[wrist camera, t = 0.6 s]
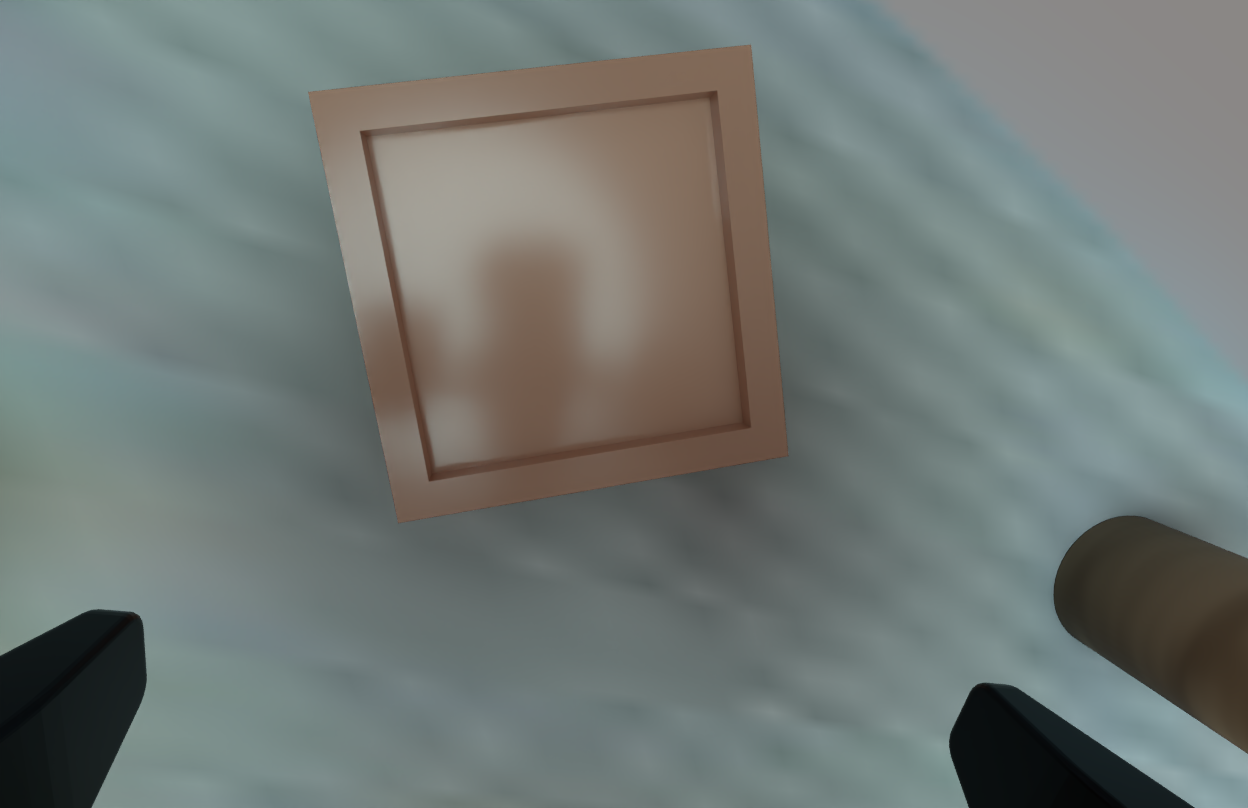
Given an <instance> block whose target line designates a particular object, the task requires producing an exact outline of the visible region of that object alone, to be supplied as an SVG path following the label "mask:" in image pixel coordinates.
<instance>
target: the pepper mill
mask: <svg viewBox="0 0 1248 808" xmlns="http://www.w3.org/2000/svg"><path fill="white" fill-rule="evenodd" d="M1054 603H1055V608H1056V612H1057V615H1058V618H1059V620H1060V622H1061V623H1062V625H1063V627H1064V628H1065V629H1066V630H1067V632H1068V633H1069V634H1071V635H1072V636H1073V637H1074V638H1076V639H1077V640H1079V641H1080V642H1082V643H1083V644H1085V645H1086V646H1088V647H1089V648H1091V649H1092V650H1094V651H1095V652H1097V653H1098V654H1100V655H1101V656H1103V657H1104V658H1106V659H1107V660H1109V661H1110V662H1111V663H1113V664H1114V665H1116V666H1117V667H1119V668H1120V669H1122V670H1123V671H1125V672H1126V673H1128V674H1129V675H1131V676H1132V677H1134V678H1135V679H1137V680H1138V681H1140V682H1141V683H1143V684H1144V685H1146V686H1147V687H1149V688H1150V689H1152V690H1153V691H1155V692H1156V693H1158V694H1159V695H1161V696H1162V697H1164V698H1165V699H1167V700H1168V701H1170V702H1171V703H1173V704H1174V705H1176V706H1177V707H1179V708H1180V709H1182V710H1183V711H1185V712H1186V713H1188V714H1189V715H1191V716H1192V717H1194V718H1195V719H1197V720H1198V721H1200V722H1201V723H1203V724H1204V725H1206V726H1207V727H1209V728H1210V729H1212V730H1213V731H1215V732H1216V733H1218V734H1219V735H1221V736H1222V737H1224V738H1225V739H1227V740H1228V741H1230V742H1231V743H1233V744H1234V745H1236V746H1237V747H1239V748H1240V749H1242V750H1243V751H1245V752H1246V753H1247V754H1248V559H1247V558H1245V557H1242V556H1240V555H1237V554H1235V553H1232V552H1230V551H1227V550H1225V549H1222V548H1220V547H1217V546H1215V545H1212V544H1210V543H1207V542H1205V541H1202V540H1200V539H1197V538H1195V537H1192V536H1190V535H1187V534H1185V533H1182V532H1180V531H1177V530H1175V529H1173V528H1170V527H1168V526H1165V525H1163V524H1160V523H1158V522H1155V521H1153V520H1150V519H1147V518H1144V517H1138V516H1122V517H1116V518H1112V519H1109V520H1106V521H1104V522H1101V523H1100V524H1098V525H1096V526H1094V527H1092V528H1091V529H1090V530H1088V531H1087V532H1085V533H1084V534H1083V535H1082V536H1081V537H1080V538H1079V539H1078V540H1077V541H1076V542H1075V543H1074V544H1073V545H1072V547H1071V548H1070V549H1069V551H1068V552H1067V554H1066V555H1065V557H1064V559H1063V561H1062V563H1061V565H1060V567H1059V570H1058V573H1057V576H1056V580H1055V586H1054Z"/></svg>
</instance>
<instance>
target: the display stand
mask: <svg viewBox="0 0 1248 808" xmlns="http://www.w3.org/2000/svg"><path fill="white" fill-rule="evenodd" d="M308 94H309V98H310V103H311V108H312V113H313V117H314V122H315V127H316V132H317V137H318V141H319V146H320V151H321V156H322V161H323V165H324V170H325V175H326V180H327V184H328V189H329V194H330V199H331V204H332V208H333V213H334V218H335V223H336V227H337V232H338V237H339V242H340V247H341V251H342V256H343V261H344V266H345V271H346V275H347V280H348V285H349V290H350V294H351V299H352V304H353V309H354V314H355V318H356V323H357V328H358V333H359V338H360V342H361V347H362V352H363V357H364V361H365V366H366V371H367V376H368V381H369V385H370V390H371V395H372V400H373V405H374V409H375V414H376V419H377V424H378V428H379V433H380V438H381V443H382V448H383V452H384V457H385V462H386V467H387V472H388V476H389V481H390V486H391V491H392V495H393V500H394V505H395V510H396V515H397V519H398V523H402V522H408V521H414V520H420V519H426V518H431V517H437V516H443V515H449V514H455V513H460V512H466V511H472V510H478V509H484V508H489V507H495V506H501V505H507V504H513V503H518V502H524V501H530V500H536V499H542V498H548V497H553V496H559V495H565V494H571V493H577V492H582V491H588V490H594V489H600V488H606V487H611V486H617V485H623V484H629V483H635V482H641V481H646V480H652V479H658V478H664V477H670V476H675V475H681V474H687V473H693V472H699V471H704V470H710V469H716V468H722V467H728V466H734V465H739V464H745V463H751V462H757V461H763V460H768V459H774V458H780V457H786V456H788V446H787V435H786V424H785V413H784V402H783V391H782V380H781V369H780V358H779V347H778V336H777V325H776V314H775V303H774V292H773V281H772V270H771V259H770V248H769V237H768V226H767V215H766V204H765V193H764V182H763V171H762V160H761V149H760V138H759V127H758V116H757V105H756V94H755V83H754V72H753V61H752V50H751V45H744V46H734V47H725V48H716V49H706V50H697V51H687V52H678V53H669V54H659V55H650V56H641V57H631V58H622V59H613V60H603V61H594V62H584V63H575V64H566V65H556V66H547V67H538V68H528V69H519V70H510V71H500V72H491V73H481V74H472V75H463V76H453V77H444V78H435V79H425V80H416V81H407V82H397V83H388V84H378V85H369V86H360V87H350V88H341V89H332V90H322V91H313V92H308Z"/></svg>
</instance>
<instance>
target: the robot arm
mask: <svg viewBox="0 0 1248 808" xmlns="http://www.w3.org/2000/svg"><path fill="white" fill-rule="evenodd" d="M146 681H147V673H146V658H145V643H144V629H143V623H142V620H141V618H140V616H139V615H137V614H136V613H133V612H126V611H114V610H102V609H97V610H90V611H87V612H85V613H82V614H80V615H78V616H76V617H74V618H72V619H71V620H69V621H67V622H65V623H63V624H61V625H59V626H57V627H55V628H53V629H51V630H49V631H47V632H45V633H43V634H42V635H40V636H38V637H36V638H34V639H32V640H30V641H28V642H26V643H24V644H22V645H20V646H18V647H16V648H14V649H13V650H11V651H9V652H7V653H5V654H3V655H1V656H0V808H92V806H93V803H94V801H95V799H96V797H97V795H98V793H99V791H100V789H101V787H102V784H103V782H104V780H105V778H106V776H107V774H108V772H109V770H110V768H111V765H112V763H113V761H114V759H115V757H116V755H117V753H118V751H119V748H120V746H121V744H122V742H123V740H124V738H125V736H126V734H127V732H128V729H129V727H130V725H131V723H132V721H133V719H134V717H135V715H136V713H137V710H138V708H139V706H140V704H141V701H142V699H143V696H144V692H145V688H146ZM949 748H950V754H951V758H952V761H953V764H954V766H955V769H956V772H957V775H958V778H959V781H960V784H961V787H962V789H963V792H964V795H965V798H966V801H967V804H968V807H969V808H1194V807H1193V806H1191V805H1190V804H1188V803H1187V802H1186V801H1184V800H1183V799H1181V798H1180V797H1178V796H1177V795H1175V794H1174V793H1172V792H1171V791H1169V790H1168V789H1166V788H1165V787H1163V786H1162V785H1160V784H1159V783H1157V782H1156V781H1154V780H1153V779H1151V778H1150V777H1148V776H1147V775H1145V774H1144V773H1143V772H1141V771H1140V770H1138V769H1137V768H1135V767H1134V766H1132V765H1131V764H1129V763H1128V762H1126V761H1125V760H1123V759H1122V758H1120V757H1119V756H1117V755H1116V754H1114V753H1113V752H1111V751H1110V750H1108V749H1107V748H1105V747H1104V746H1102V745H1101V744H1100V743H1098V742H1097V741H1095V740H1094V739H1092V738H1091V737H1089V736H1088V735H1086V734H1085V733H1083V732H1082V731H1080V730H1079V729H1077V728H1076V727H1074V726H1073V725H1071V724H1070V723H1068V722H1067V721H1065V720H1064V719H1062V718H1061V717H1059V716H1058V715H1057V714H1055V713H1054V712H1052V711H1051V710H1049V709H1048V708H1046V707H1045V706H1043V705H1042V704H1040V703H1039V702H1037V701H1036V700H1034V699H1033V698H1031V697H1030V696H1028V695H1027V694H1025V693H1024V692H1022V691H1021V690H1019V689H1018V688H1016V687H1014V686H1011V685H1006V684H994V683H980V684H977V685H976V686H975V687H973V688H972V690H971V691H970V693H969V695H968V697H967V699H966V701H965V704H964V706H963V708H962V710H961V712H960V714H959V716H958V718H957V720H956V722H955V724H954V726H953V728H952V731H951V733H950V739H949Z"/></svg>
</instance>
